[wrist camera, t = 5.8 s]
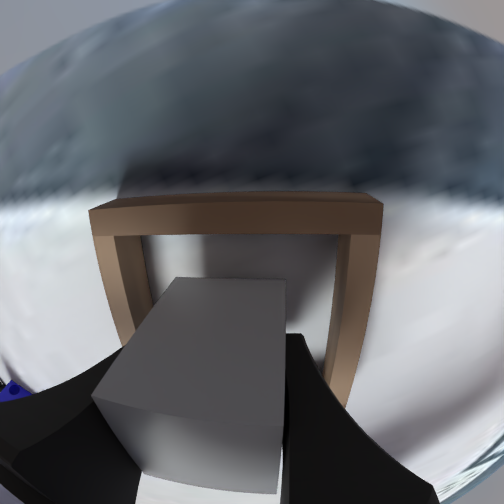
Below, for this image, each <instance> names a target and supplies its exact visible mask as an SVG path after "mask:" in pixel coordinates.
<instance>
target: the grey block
mask: <svg viewBox="0 0 504 504" xmlns="http://www.w3.org/2000/svg"><path fill="white" fill-rule="evenodd" d="M285 344H286V279H231V278H191V277H176V278H175V279H174V280H173V281H172V283H171V284H170V285H169V287H168V288H167V289H166V291H165V292H164V293H163V295H162V296H161V297H160V299H159V300H158V301H157V303H156V304H155V305H154V307H153V308H152V309H151V311H150V312H149V313H148V315H147V316H146V317H145V319H144V320H143V322H142V323H141V324H140V326H139V327H138V328H137V330H136V331H135V333H134V334H133V335H132V337H131V338H130V340H129V341H128V342H127V344H126V345H125V347H124V348H123V349H122V351H121V352H120V354H119V355H118V357H117V358H116V359H115V361H114V362H113V364H112V365H111V367H110V368H109V369H108V371H107V372H106V374H105V375H104V377H103V378H102V380H101V381H100V383H99V384H98V386H97V387H96V389H95V390H94V392H93V393H92V395H91V396H92V398H93V400H94V402H95V403H96V405H97V407H98V408H99V410H100V412H101V413H102V415H103V417H104V418H105V420H106V421H107V423H108V424H109V426H110V428H111V429H112V431H113V432H114V434H115V435H116V437H117V438H118V440H119V441H120V442H121V444H122V445H123V447H124V448H125V449H126V451H127V452H128V454H129V455H130V456H131V458H132V459H133V460H134V462H135V463H136V464H137V465H138V467H139V468H140V469H141V470H142V472H143V473H144V474H146V475H149V476H153V477H157V478H161V479H165V480H169V481H173V482H178V483H182V484H187V485H193V486H198V487H204V488H210V489H217V490H225V491H234V492H244V493H258V494H277V486H278V477H279V468H280V458H281V448H282V438H283V426H284V396H285Z"/></svg>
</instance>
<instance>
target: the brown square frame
mask: <svg viewBox="0 0 504 504" xmlns="http://www.w3.org/2000/svg"><path fill="white" fill-rule="evenodd" d="M383 205H384V204H383V203H381V202H380V201H378V200H377V199H375V198H373V197H372V196H370V195H368V194H367V193H350V192H312V191H256V192H218V193H194V194H176V195H160V196H147V197H134V198H123V199H115V200H112V201H110V202H107V203H105V204H102V205H100V206H97V207H95V208H93V209H90V210H88V212H89V218H90V224H91V230H92V235H93V241H94V246H95V250H96V255H97V260H98V264H99V269H100V273H101V277H102V281H103V285H104V289H105V292H106V296H107V300H108V303H109V307H110V310H111V313H112V317H113V320H114V323H115V326H116V330H117V333H118V336H119V339H120V342H121V344H122V347H123V346H125V345H126V344H127V342H128V341H129V340H130V338H131V337H132V335H133V334H134V333H135V331H136V330H137V328H138V327H139V326H140V324H141V323H142V322H143V320H144V319H145V317H146V316H147V315H148V313H149V312H150V311H151V309H152V308H153V307H154V306H153V302H152V297H151V292H150V288H149V283H148V277H147V272H146V267H145V261H144V255H143V249H142V243H141V237H140V235H181V234H338V248H337V261H336V273H335V283H334V293H333V302H332V311H331V319H330V326H329V334H328V341H327V348H326V354H325V361H324V367H323V373H322V376H323V378H324V379H325V381H326V383H327V384H328V386H329V387H330V389H331V390H332V392H333V393H334V395H335V396H336V398H337V399H338V400H339V402H340V403H341V405H342V406H343V407H344V408H345V407H346V404H347V401H348V397H349V394H350V391H351V387H352V384H353V380H354V376H355V373H356V369H357V365H358V361H359V357H360V353H361V349H362V345H363V340H364V336H365V331H366V327H367V322H368V317H369V312H370V306H371V301H372V295H373V289H374V283H375V277H376V270H377V263H378V255H379V247H380V238H381V229H382V218H383Z"/></svg>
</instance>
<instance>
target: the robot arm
mask: <svg viewBox="0 0 504 504" xmlns="http://www.w3.org/2000/svg"><path fill="white" fill-rule="evenodd" d="M124 347H125V346H123V347H122V348H120V349H119V350H117V351H116V352H115V353H113V354H112V355H110V356H109V357H107V358H106V359H104V360H102V361H101V362H99V363H98V364H96V365H95V366H93V367H91V368H90V369H88V370H86V371H85V372H83V373H81V374H79V375H78V376H76V377H74V378H72V379H70V380H68V381H66V382H64V383H61V384H59V385H57V386H54V387H52V388H49V389H46V390H44V391H41V392H39V393H36V394H33V395H29V396H26V397H22V398H18V399H14V400H9V401H3V402H0V504H135V501H136V496H137V490H138V485H139V481H140V477H141V473H142V470H141V469H140V468H139V467H138V465H137V464H136V463H135V462H134V460H133V459H132V458H131V456H130V455H129V454H128V452H127V451H126V449H125V448H124V447H123V445H122V444H121V442H120V441H119V440H118V438H117V437H116V435H115V434H114V432H113V431H112V429H111V428H110V426H109V424H108V423H107V421H106V420H105V418H104V417H103V415H102V413H101V412H100V410H99V408H98V407H97V405H96V403H95V402H94V400H93V398H92V396H91V395H92V393H93V392H94V390H95V389H96V387H97V386H98V384H99V383H100V381H101V380H102V378H103V377H104V375H105V374H106V372H107V371H108V369H109V368H110V367H111V365H112V364H113V362H114V361H115V359H116V358H117V357H118V355H119V354H120V352H121V351H122V349H123V348H124ZM282 449H283V470H282V486H281V499H280V504H440V503H439V500H438V497H437V495H436V492H435V490H434V488H433V485H431V484H429V483H428V482H426V481H424V480H423V479H421V478H420V477H418V476H417V475H415V474H414V473H412V472H411V471H409V470H408V469H407V468H405V467H404V466H403V465H401V464H400V463H399V462H397V461H396V460H395V459H394V458H392V457H391V456H390V455H389V454H388V453H386V452H385V451H384V450H383V449H382V448H381V447H380V446H379V445H378V444H377V443H376V442H375V441H374V440H373V439H371V438H370V437H369V436H368V435H367V434H366V433H365V432H364V431H363V429H362V428H361V427H360V426H359V425H358V424H357V423H356V422H355V421H354V419H353V418H352V417H351V416H350V415H349V413H348V412H347V411H346V410H345V408H344V407H343V406H342V405H341V403H340V402H339V400H338V399H337V398H336V396H335V395H334V393H333V392H332V390H331V389H330V387H329V386H328V384H327V383H326V381H325V379H324V378H323V376H322V374H321V372H320V371H319V369H318V367H317V365H316V363H315V362H314V360H313V357H312V355H311V353H310V351H309V349H308V347H307V344H306V341H305V338H304V336H303V335H302V334H301V333H286V344H285V396H284V426H283V438H282Z"/></svg>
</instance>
